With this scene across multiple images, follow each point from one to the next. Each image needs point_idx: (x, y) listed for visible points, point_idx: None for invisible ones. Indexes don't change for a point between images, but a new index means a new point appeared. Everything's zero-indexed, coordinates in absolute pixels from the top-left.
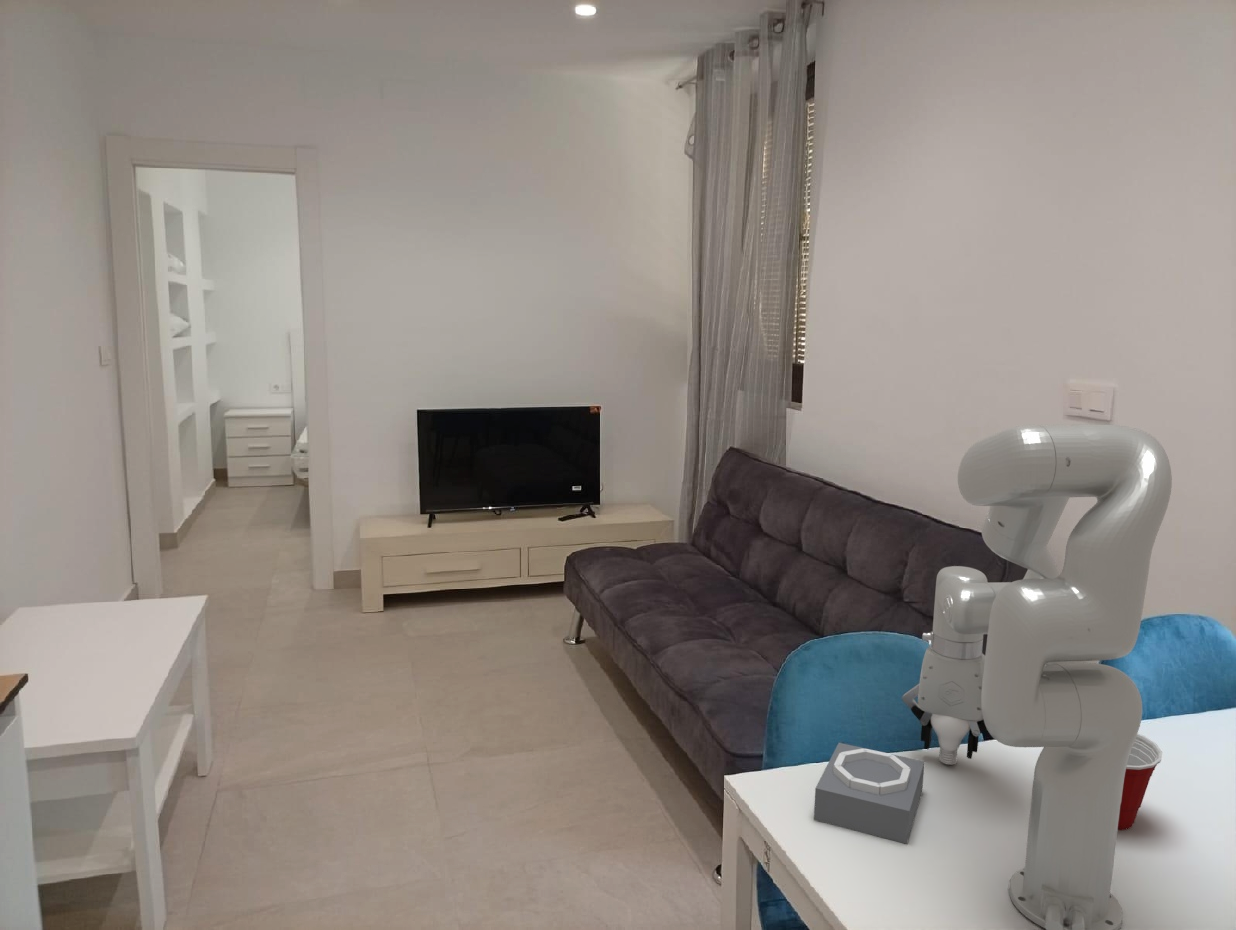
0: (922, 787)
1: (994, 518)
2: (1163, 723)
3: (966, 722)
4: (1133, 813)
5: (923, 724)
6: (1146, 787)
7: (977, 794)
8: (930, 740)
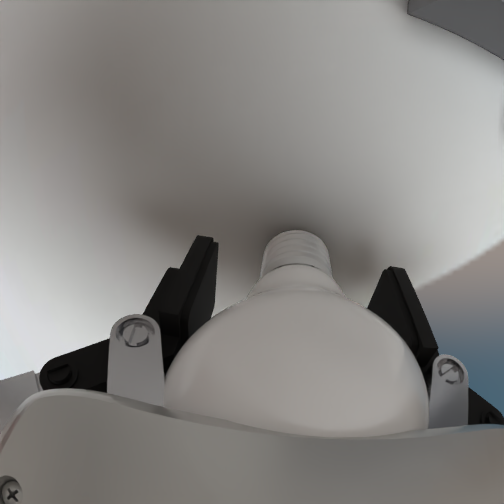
0: (414, 8)
1: None
2: None
3: (176, 393)
4: None
5: (443, 361)
6: None
7: (186, 51)
8: None
